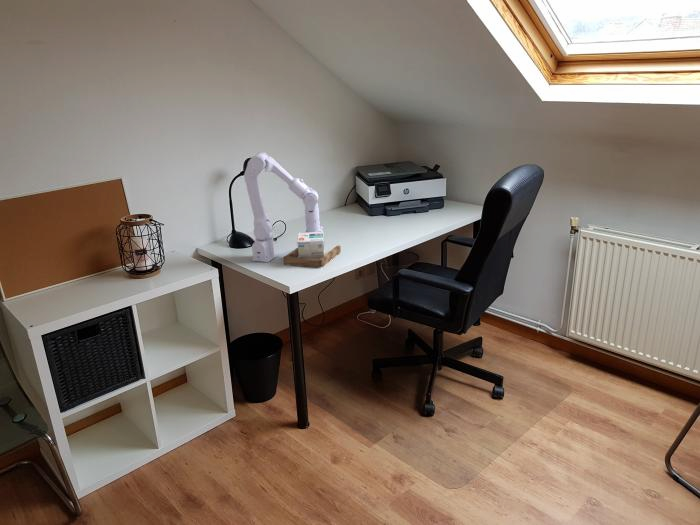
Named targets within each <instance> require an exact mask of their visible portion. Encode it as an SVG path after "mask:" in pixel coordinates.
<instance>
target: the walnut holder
mask: <svg viewBox="0 0 700 525" xmlns="http://www.w3.org/2000/svg"><path fill="white" fill-rule="evenodd" d="M341 247H342V246H341V245H338V244H337V245H336V246H335V247H333V248H332V249H331V250H329V251H328V252H327V253H325V255H324V256H323V257H322V258H320V259H311V258H300V257H299V251H298V247H296V248H295V249H293V250H292V251H291V252H289V253H287V254H285V256H283V257H282V258H283V265H287V264H290V265H289V266H297V265H301V266H300V267H307V266H313V267H312V268H318V267H322V268H324V266H326V265H328V263H329V262H331V261H332V260H333V259H334V258H336V257H337V256H338V255H340V252H341V253H342V250H341V249H342V248H341ZM336 255H337V256H336ZM335 256H336V257H335ZM331 259H332V260H331ZM330 260H331V261H330ZM325 264H326V265H325Z"/></svg>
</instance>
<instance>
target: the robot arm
mask: <svg viewBox="0 0 700 525" xmlns="http://www.w3.org/2000/svg"><path fill="white" fill-rule="evenodd" d="M264 169H265V170H264ZM263 170H264V172H269V173H274V174H275V175H276V176H277V177H279V178H280V179H281V180H282V181H283V182H285V183H286V184H287V185H288V189H289V190H290V191H291V192H292V193H293V194H294V195H296V197H298V198H299V199H301V200H302V203H303V205H304V216H305V227H306V228H305V229H306V230H305V232H304V233H309V232H323V233H324V231H323V230H324V229H323V225H320V224H321V222H320V208H319V203H318V202H319V193H318V192H317V191H316V190H315V189H313V188H312V187H310V186H308V185H307V184H305V182H304V179H302V178H298V177H297V178H296V177H293V176H292V174H290V173H289V172H288V171H287V170H286V169H285V168H284V167H283V166H281V165H280V164H279V163H278V162H277V161H276V160H275V158H274V157H272V156H269V154H268V153H266V152H264V151H260V152H257V153H256V154H255V155H253V156H251V157H250V159H249V160H248V162H247V165H246V169H245V171H244V174H243V176H244V177H243V178H244V182H245V186H246V190H247V194H248V197H249V201H250V206H251V211H252V213H253V226H254V228H253V235H254V237H255V241H254V242H253V244H252V246H251V249H252V250H251V251H252V259H251V261H252V262H263V263H269V262H270V261H272V260H273V259H275V258H277V257H278V256H279V254H278V253H275V248H274V239H273V234H272V231H273V228H274V227H273V223H272V222H271V221H270V219H269V216H268V215H267V213H266V208H265V204H264V200H263V196H262V192H261V188H260V183H259V180H258V177H259V175H260V174H261V172H262V171H263ZM309 235H310V234H309ZM309 235H307V234H306V235H305V234H304V236H309Z"/></svg>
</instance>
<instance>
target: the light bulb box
mask: <svg viewBox="0 0 700 525" xmlns="http://www.w3.org/2000/svg"><path fill="white" fill-rule="evenodd" d="M304 234H305V235H306V234H307V235H309V234H310V235H309V236H304ZM325 243H326V242H325V233H324V231H323V232H309V233H305V232H298V233H297V242H296V244H297V248H298V251H299V257H300V258H311V259H320V258H322V257H323V256H324V255H325V254H326V244H325Z"/></svg>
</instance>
